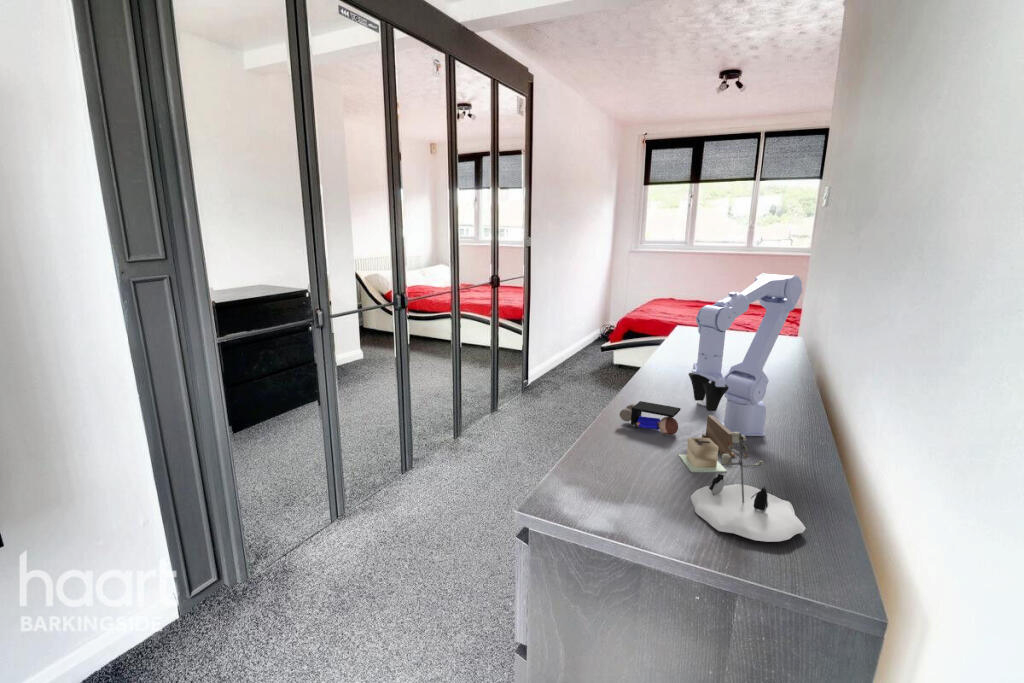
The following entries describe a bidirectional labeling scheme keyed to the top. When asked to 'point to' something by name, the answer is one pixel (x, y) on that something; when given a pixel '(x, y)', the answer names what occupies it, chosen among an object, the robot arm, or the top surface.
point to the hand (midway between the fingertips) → (704, 405)
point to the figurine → (745, 506)
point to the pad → (701, 469)
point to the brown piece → (719, 435)
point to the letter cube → (702, 452)
